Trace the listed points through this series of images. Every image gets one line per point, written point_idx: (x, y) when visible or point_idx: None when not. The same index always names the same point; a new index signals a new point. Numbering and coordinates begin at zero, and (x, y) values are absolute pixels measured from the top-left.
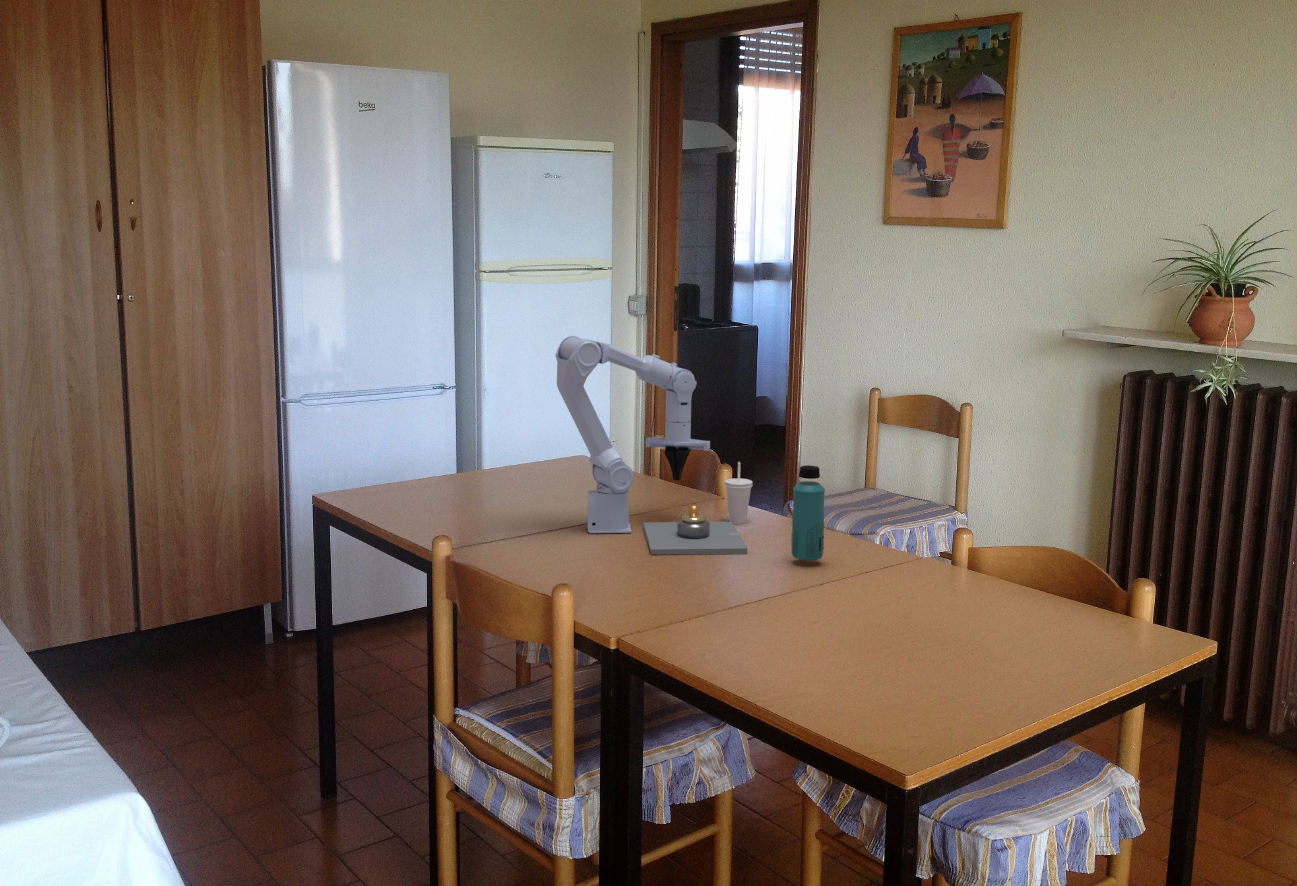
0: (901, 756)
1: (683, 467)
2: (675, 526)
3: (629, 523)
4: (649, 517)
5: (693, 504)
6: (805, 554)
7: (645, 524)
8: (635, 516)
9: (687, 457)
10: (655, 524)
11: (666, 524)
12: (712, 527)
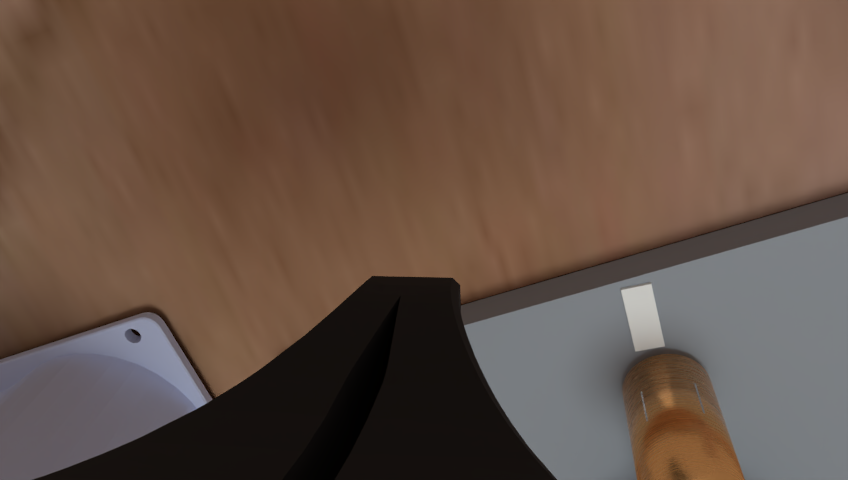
0: None
1: (475, 365)
2: (532, 420)
3: (173, 349)
4: (198, 54)
5: (690, 477)
6: None
7: None
8: (81, 60)
9: (550, 474)
10: None
11: None
12: (829, 383)
